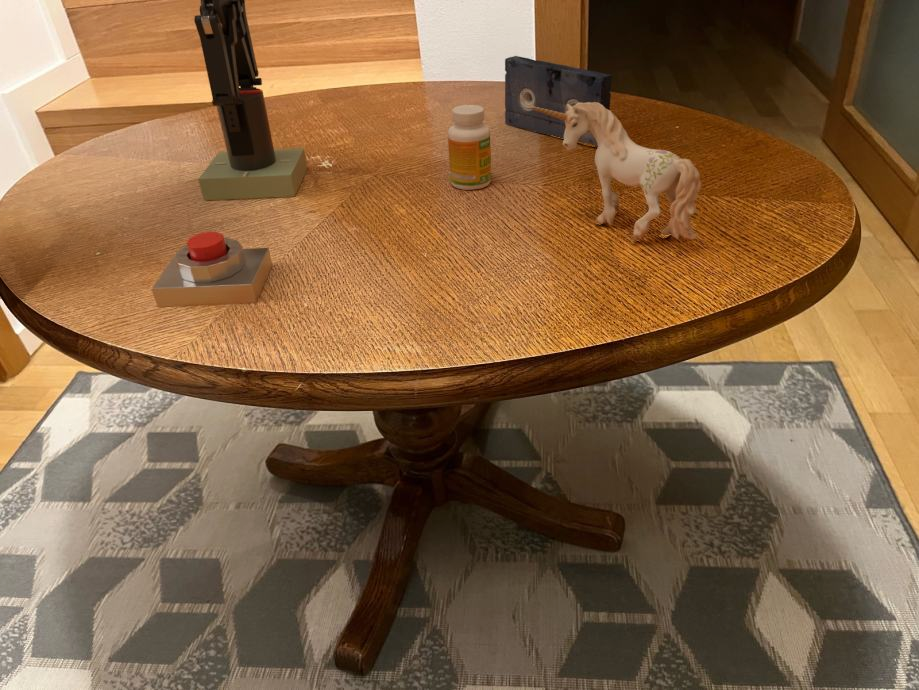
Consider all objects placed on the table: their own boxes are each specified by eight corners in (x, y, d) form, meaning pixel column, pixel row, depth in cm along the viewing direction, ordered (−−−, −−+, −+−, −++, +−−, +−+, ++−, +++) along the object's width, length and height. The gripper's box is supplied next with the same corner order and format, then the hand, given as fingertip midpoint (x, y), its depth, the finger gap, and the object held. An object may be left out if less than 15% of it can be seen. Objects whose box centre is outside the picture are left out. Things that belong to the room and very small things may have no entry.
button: (186, 263, 73) (181, 248, 72) (196, 247, 76) (192, 232, 75) (222, 262, 73) (218, 246, 72) (231, 246, 76) (227, 230, 75)
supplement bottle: (485, 192, 94) (483, 116, 88) (445, 189, 95) (441, 114, 90) (495, 176, 98) (494, 103, 92) (456, 174, 99) (453, 101, 94)
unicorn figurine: (557, 199, 91) (561, 89, 83) (713, 233, 81) (733, 112, 74) (528, 220, 86) (530, 106, 79) (690, 259, 77) (709, 133, 69)
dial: (225, 171, 95) (208, 99, 90) (236, 155, 100) (220, 86, 95) (270, 169, 95) (256, 97, 90) (279, 153, 100) (266, 84, 95)
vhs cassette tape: (608, 144, 106) (613, 74, 101) (595, 150, 105) (599, 78, 99) (517, 119, 118) (517, 54, 112) (504, 124, 116) (503, 58, 110)
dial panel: (203, 201, 95) (197, 177, 94) (223, 172, 104) (218, 150, 102) (294, 196, 95) (290, 173, 93) (307, 168, 104) (304, 146, 102)
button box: (157, 307, 73) (145, 272, 71) (181, 269, 80) (172, 236, 78) (256, 303, 73) (248, 268, 71) (272, 265, 80) (265, 232, 77)
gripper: (218, -44, 76) (262, 170, 89) (258, -63, 91) (291, 121, 104) (146, -40, 76) (200, 173, 89) (199, -60, 91) (238, 124, 104)
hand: (249, 145), depth 96 cm, fingers closed on dial, 6 cm apart
